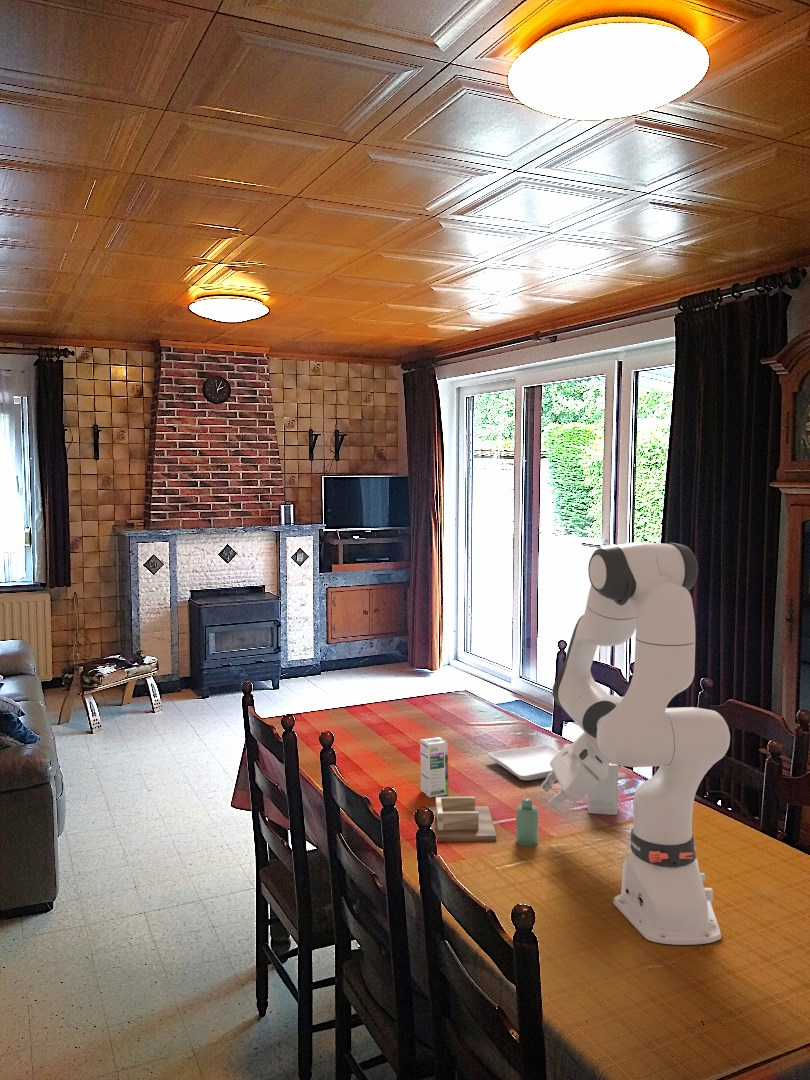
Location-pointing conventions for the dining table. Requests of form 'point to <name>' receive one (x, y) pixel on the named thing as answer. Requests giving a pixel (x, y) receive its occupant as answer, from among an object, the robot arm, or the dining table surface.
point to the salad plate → (526, 761)
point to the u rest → (462, 820)
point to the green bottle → (527, 823)
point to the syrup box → (434, 766)
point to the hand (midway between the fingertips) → (546, 796)
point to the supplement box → (605, 794)
